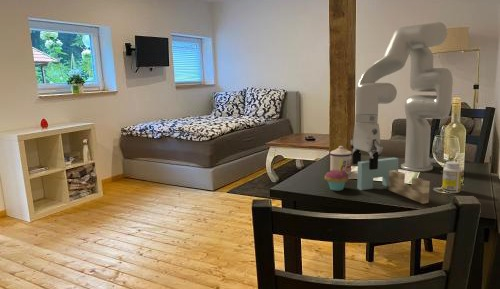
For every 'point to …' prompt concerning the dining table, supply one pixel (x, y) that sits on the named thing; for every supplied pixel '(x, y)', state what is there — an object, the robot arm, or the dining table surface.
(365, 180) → the teal slotted plate
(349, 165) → the teacup with lid
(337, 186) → the cupcake
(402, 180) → the birch slotted plate
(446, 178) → the supplement bottle
